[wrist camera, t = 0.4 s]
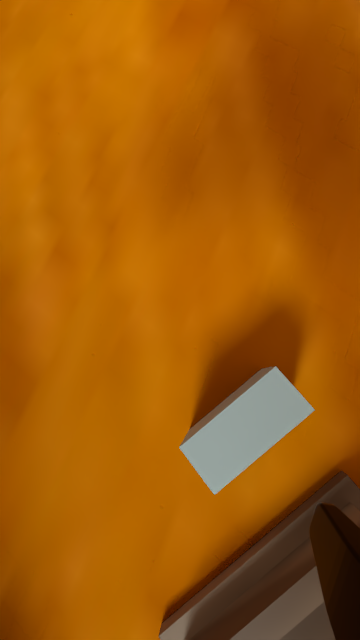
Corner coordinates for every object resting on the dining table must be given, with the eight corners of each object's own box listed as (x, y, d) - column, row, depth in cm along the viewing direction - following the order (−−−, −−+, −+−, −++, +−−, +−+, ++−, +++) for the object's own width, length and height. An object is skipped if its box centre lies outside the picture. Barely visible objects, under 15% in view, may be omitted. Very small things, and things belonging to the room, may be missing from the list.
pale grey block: (289, 400, 22) (315, 409, 16) (216, 463, 22) (214, 495, 16) (261, 368, 23) (275, 366, 17) (189, 428, 22) (179, 447, 17)
